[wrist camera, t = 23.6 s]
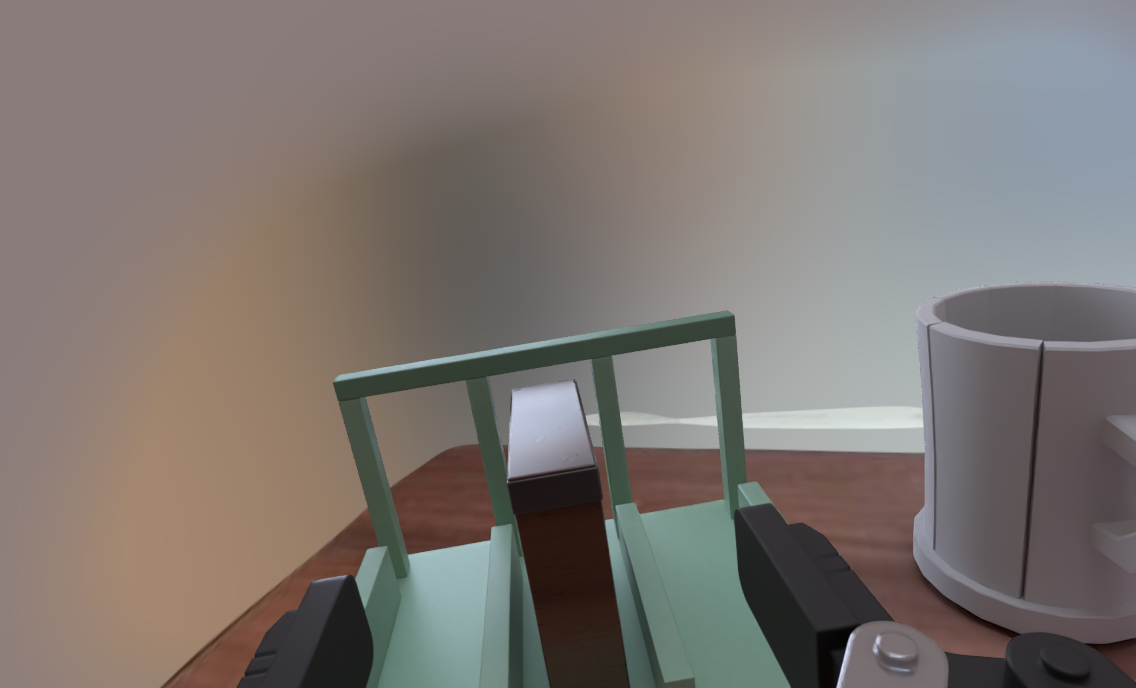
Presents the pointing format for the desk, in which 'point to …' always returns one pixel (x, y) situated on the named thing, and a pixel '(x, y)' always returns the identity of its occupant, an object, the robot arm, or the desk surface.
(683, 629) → the rack
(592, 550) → the dark brown rectangular block
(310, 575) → the desk surface
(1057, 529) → the cup
